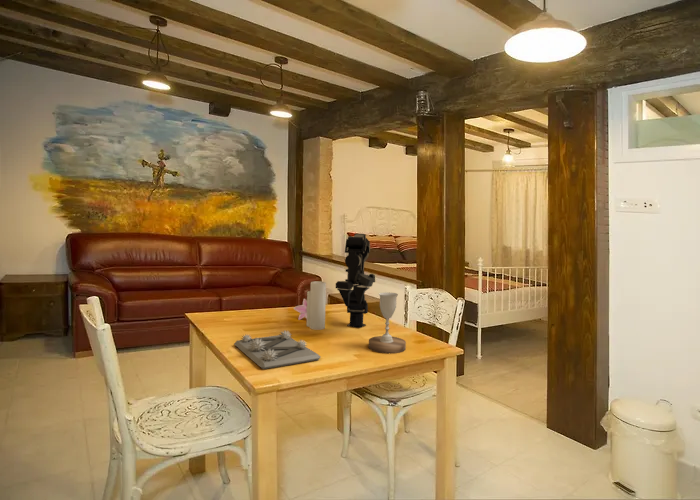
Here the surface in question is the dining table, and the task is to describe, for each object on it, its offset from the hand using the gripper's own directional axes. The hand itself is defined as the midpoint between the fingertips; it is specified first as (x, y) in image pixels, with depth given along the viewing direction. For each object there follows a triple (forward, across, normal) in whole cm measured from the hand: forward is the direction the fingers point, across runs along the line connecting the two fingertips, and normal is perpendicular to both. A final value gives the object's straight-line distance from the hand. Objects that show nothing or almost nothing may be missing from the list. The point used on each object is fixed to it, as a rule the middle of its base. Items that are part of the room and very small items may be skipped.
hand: (353, 305), depth 181 cm
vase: (+12, +3, +21) cm, 25 cm away
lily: (+12, +11, +33) cm, 36 cm away
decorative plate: (+15, -35, +10) cm, 39 cm away
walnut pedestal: (+14, -4, -19) cm, 24 cm away
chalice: (+11, -4, -18) cm, 22 cm away
